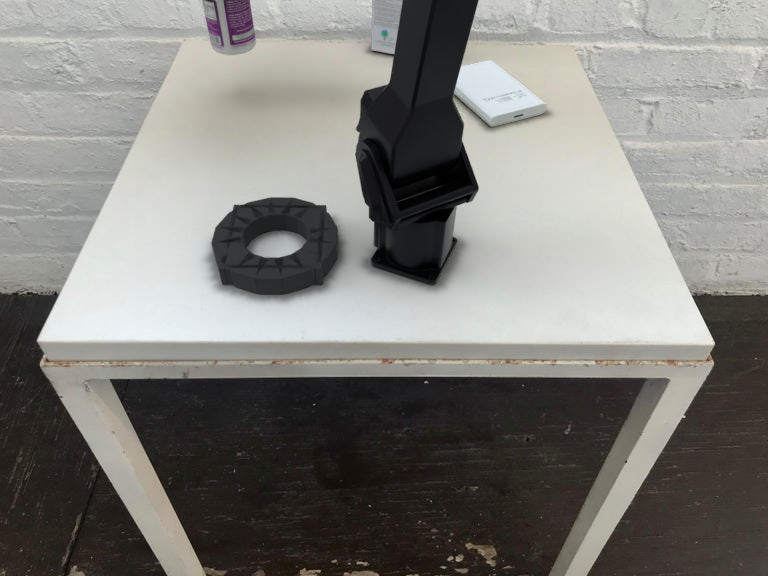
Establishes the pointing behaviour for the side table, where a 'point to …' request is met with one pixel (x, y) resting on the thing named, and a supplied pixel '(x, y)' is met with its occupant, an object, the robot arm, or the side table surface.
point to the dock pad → (275, 271)
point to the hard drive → (496, 94)
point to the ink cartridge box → (385, 24)
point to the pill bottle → (230, 26)
